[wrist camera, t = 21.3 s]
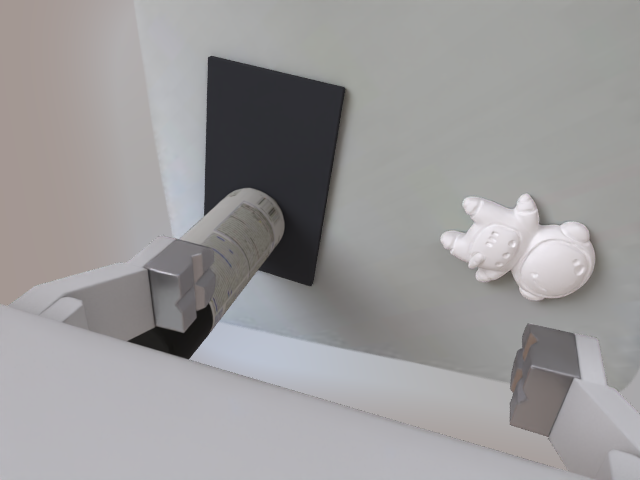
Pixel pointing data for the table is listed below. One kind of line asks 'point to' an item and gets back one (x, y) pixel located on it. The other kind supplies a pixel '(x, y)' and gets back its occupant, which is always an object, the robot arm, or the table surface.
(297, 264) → the mat
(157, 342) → the spray can
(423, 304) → the table surface
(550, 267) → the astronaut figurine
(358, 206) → the table surface
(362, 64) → the table surface
